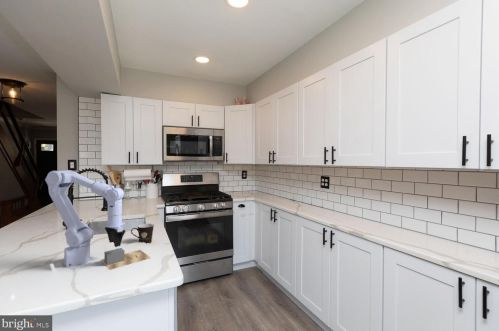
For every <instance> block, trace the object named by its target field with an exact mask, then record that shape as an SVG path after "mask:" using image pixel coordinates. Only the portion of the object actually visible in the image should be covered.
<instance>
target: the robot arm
mask: <svg viewBox="0 0 499 331" xmlns="http://www.w3.org/2000/svg"><path fill="white" fill-rule="evenodd" d="M44 181H45V182H46V184H47V187H48V194H49V196H50V198H51V200H52V202H53V204H54V206H55V207H56V209H57V212H58V213H59V215H60V217H61V218H62V219H61V220H63V222H64V224H65V226H66V230H65V232H64V236H65V237H66V238H65V240H66V244H67V246H68V247H65V248H64V252H63V253H64V255H63V257H64V261H63V265H64V266H65V267H66V268H71V267H73V266H80V265H84V264H87V263H89V262H90V261H91V240H92V239H93V237H94V234H95V233H94V231H93V229H92V228H90V227H89V226H88V224H87V223H84V222H82V220H81V218H80V216H79V214H78V213H77V211H76V209H75V207H74V205H73V204H72V201H71V200H70V198H69V196H68V195H67V191H68V189H69V188H70V186H72V184H73V183H75V184H77V185H80V186H83V187H86V188H88V189H90V191H91V192H92V193H93V194H95V195H98V196H100V197H103V198H104V200H106V202H107V224H106V226H105V227H104V230H105V232H106V235H107V239H108V242H109V243H113V245H114V247H115V248H118V247H121V245H122V241H123V238H124V235H125V234H126V230H125V229H123V225H125V223H126V222H123V198H124V197H125V191H124V190H123V188H121V187H115V186H114V185H109V184H107V183H106V182H105V181H103V180H97V181H94V180H91V179H90V178H88V177H86V176H83V175H82V174H80V173H78V172H76V171H73V170H70V169H67V170H52V171H50V172H48V173H47V176H46V177H45V179H44Z"/></svg>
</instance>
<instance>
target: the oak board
mask: <svg viewBox="0 0 499 331" xmlns="http://www.w3.org/2000/svg"><path fill="white" fill-rule="evenodd" d="M149 259H152V257H151V256H149V255H148V254H147V253H145V252H144V251H142V250H141V249H139V250H135V251H130V252H125V253H124V262H120V263H116V264H113V265H109V266H107V265H106V264H105V263H104V258H103V259H102V258H101V259H100V261H101V263H102V264H103V265H104V266H105V267H106V269H107V270H109V271H110V270H114V269H119V268H122V267H124V266H129V265H131V264H132V265H133V264H135V263H136V264H137V263H139V262H143V261H145V260H149Z"/></svg>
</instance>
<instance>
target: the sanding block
mask: <svg viewBox="0 0 499 331" xmlns="http://www.w3.org/2000/svg"><path fill="white" fill-rule="evenodd" d="M103 254H104V258H103V259H104V263H105V264H106V265H107V266H109V265H113V264H116V263H120V262H124V254H125V250H124V249H123V248H122V247H119V248H115V249H111V250H107V251H104V253H103ZM104 263H103V264H104Z"/></svg>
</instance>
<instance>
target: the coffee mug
mask: <svg viewBox="0 0 499 331" xmlns="http://www.w3.org/2000/svg"><path fill="white" fill-rule="evenodd" d="M154 227H155V226H154V224H153V223H141V224H139V225H137V227H133V228H131V229H130V233H131V235H133V236H134V237H135V238H137V239H138V240H139V241H138V242H139V243H145V245H148V244H147V243H149V244H151V243H152V241H153V232H154ZM133 230H136V231H137V233H138V236H137V235H136V234H134V233H133Z"/></svg>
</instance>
